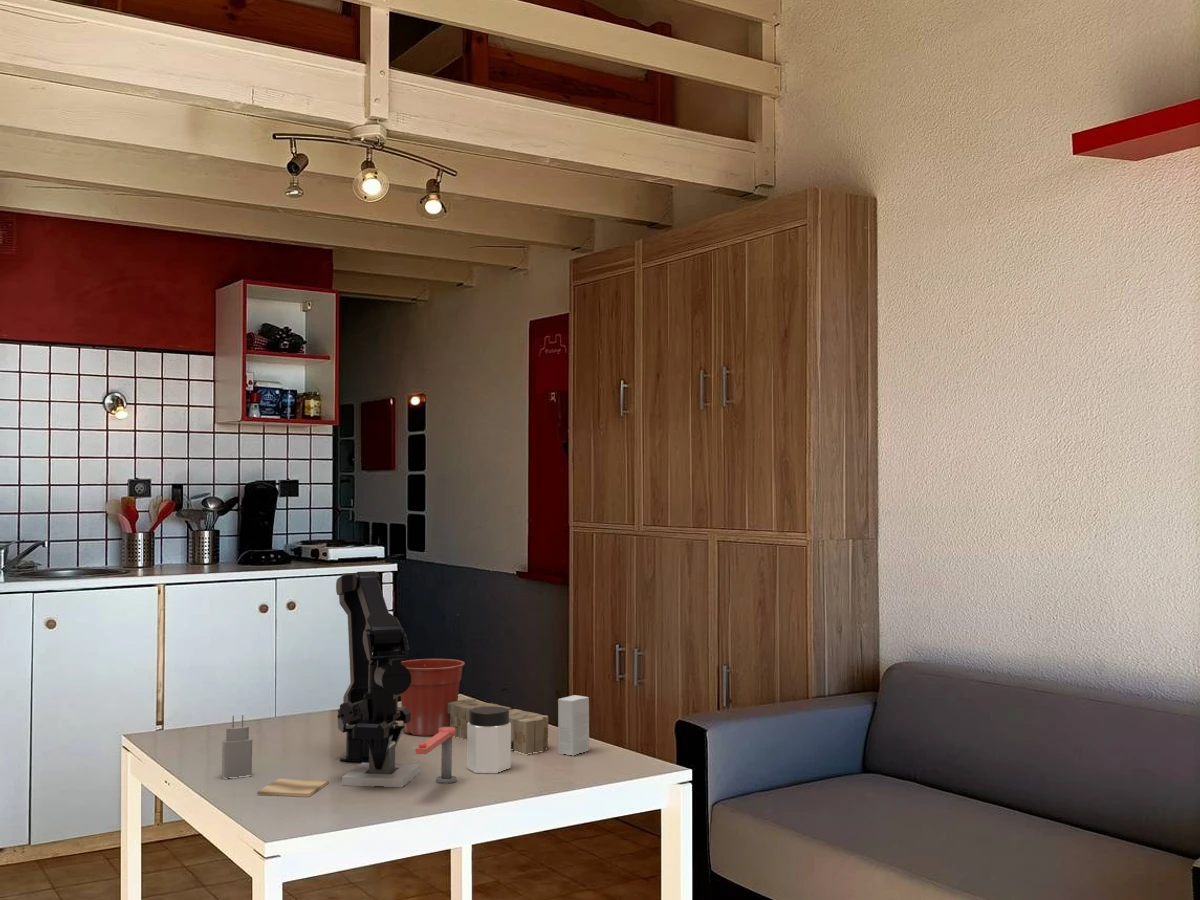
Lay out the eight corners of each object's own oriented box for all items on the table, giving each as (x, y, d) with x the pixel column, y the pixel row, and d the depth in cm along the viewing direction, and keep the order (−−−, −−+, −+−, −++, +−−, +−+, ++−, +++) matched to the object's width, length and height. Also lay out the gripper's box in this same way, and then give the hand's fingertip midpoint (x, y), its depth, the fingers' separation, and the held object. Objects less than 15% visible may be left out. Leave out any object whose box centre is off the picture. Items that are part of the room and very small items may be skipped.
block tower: (552, 755, 249) (472, 731, 270) (553, 717, 249) (473, 695, 270) (524, 761, 243) (445, 735, 265) (525, 721, 244) (446, 699, 265)
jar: (512, 764, 235) (512, 706, 236) (508, 774, 227) (509, 713, 228) (469, 764, 235) (469, 706, 236) (464, 773, 227) (464, 713, 228)
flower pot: (379, 731, 268) (380, 663, 269) (433, 721, 280) (434, 656, 281) (424, 741, 257) (425, 670, 258) (478, 731, 269) (478, 663, 270)
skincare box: (574, 749, 250) (574, 694, 250) (589, 752, 247) (589, 696, 248) (557, 754, 245) (557, 698, 246) (572, 757, 242) (573, 700, 243)
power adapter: (220, 776, 224) (222, 715, 224) (248, 773, 227) (249, 712, 227) (224, 779, 221) (225, 717, 222) (252, 776, 224) (253, 715, 225)
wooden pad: (279, 781, 220) (279, 778, 220) (328, 783, 219) (328, 780, 219) (257, 794, 210) (257, 791, 210) (309, 796, 209) (309, 793, 209)
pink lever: (441, 733, 223) (441, 724, 223) (457, 734, 223) (457, 725, 223) (412, 753, 205) (412, 743, 205) (429, 754, 205) (429, 744, 205)
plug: (375, 776, 225) (375, 740, 225) (394, 776, 224) (395, 741, 225) (368, 781, 221) (369, 744, 221) (388, 781, 220) (389, 745, 221)
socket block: (362, 770, 229) (363, 727, 230) (463, 774, 227) (464, 730, 227) (341, 785, 217) (342, 740, 218) (448, 789, 215) (449, 743, 215)
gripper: (359, 678, 234) (358, 755, 233) (326, 693, 215) (325, 776, 214) (411, 679, 232) (410, 756, 232) (383, 695, 214) (382, 779, 213)
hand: (381, 766), depth 223 cm, fingers closed on plug, 4 cm apart
